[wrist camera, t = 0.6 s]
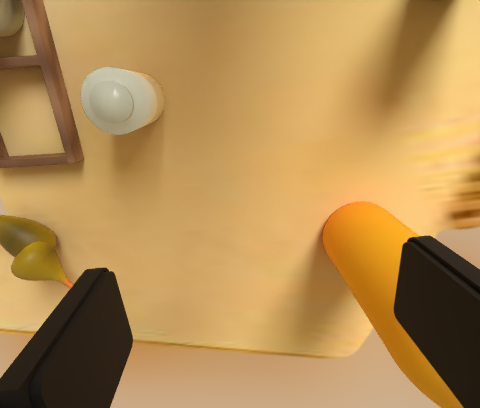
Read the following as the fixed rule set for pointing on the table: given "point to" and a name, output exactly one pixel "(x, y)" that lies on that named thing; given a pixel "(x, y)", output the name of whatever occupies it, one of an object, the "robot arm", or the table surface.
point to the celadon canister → (121, 100)
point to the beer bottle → (381, 285)
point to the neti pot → (31, 250)
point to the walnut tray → (8, 23)
